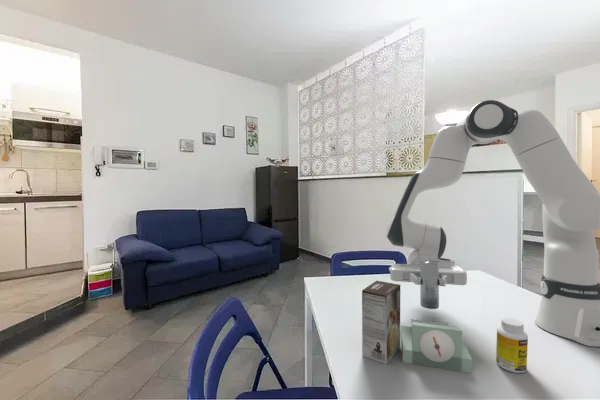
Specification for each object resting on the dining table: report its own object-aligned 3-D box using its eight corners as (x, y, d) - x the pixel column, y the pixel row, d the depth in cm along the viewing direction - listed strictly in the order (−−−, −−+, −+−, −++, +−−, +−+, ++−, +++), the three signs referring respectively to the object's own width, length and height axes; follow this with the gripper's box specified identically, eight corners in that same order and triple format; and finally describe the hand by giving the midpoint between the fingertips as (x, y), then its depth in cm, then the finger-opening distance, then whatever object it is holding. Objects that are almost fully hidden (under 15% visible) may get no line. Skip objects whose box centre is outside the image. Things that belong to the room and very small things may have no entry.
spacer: (437, 303, 81) (436, 260, 81) (440, 309, 77) (439, 264, 76) (419, 301, 82) (419, 259, 82) (421, 308, 78) (420, 263, 78)
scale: (458, 344, 74) (459, 309, 74) (472, 374, 62) (473, 333, 62) (400, 336, 78) (400, 303, 78) (403, 363, 66) (403, 325, 66)
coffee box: (376, 339, 77) (376, 279, 76) (400, 347, 73) (401, 284, 72) (361, 356, 69) (361, 289, 69) (387, 366, 65) (388, 295, 65)
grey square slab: (448, 331, 75) (448, 323, 75) (456, 349, 66) (456, 341, 66) (410, 326, 77) (410, 319, 77) (413, 344, 69) (413, 335, 69)
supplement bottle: (520, 377, 61) (521, 330, 61) (491, 364, 66) (492, 320, 65) (531, 368, 64) (532, 323, 64) (502, 356, 69) (503, 313, 68)
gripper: (388, 257, 94) (389, 268, 81) (459, 260, 88) (472, 272, 75) (389, 276, 94) (389, 291, 81) (459, 280, 88) (472, 297, 75)
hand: (430, 282), depth 78 cm, fingers closed on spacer, 5 cm apart
